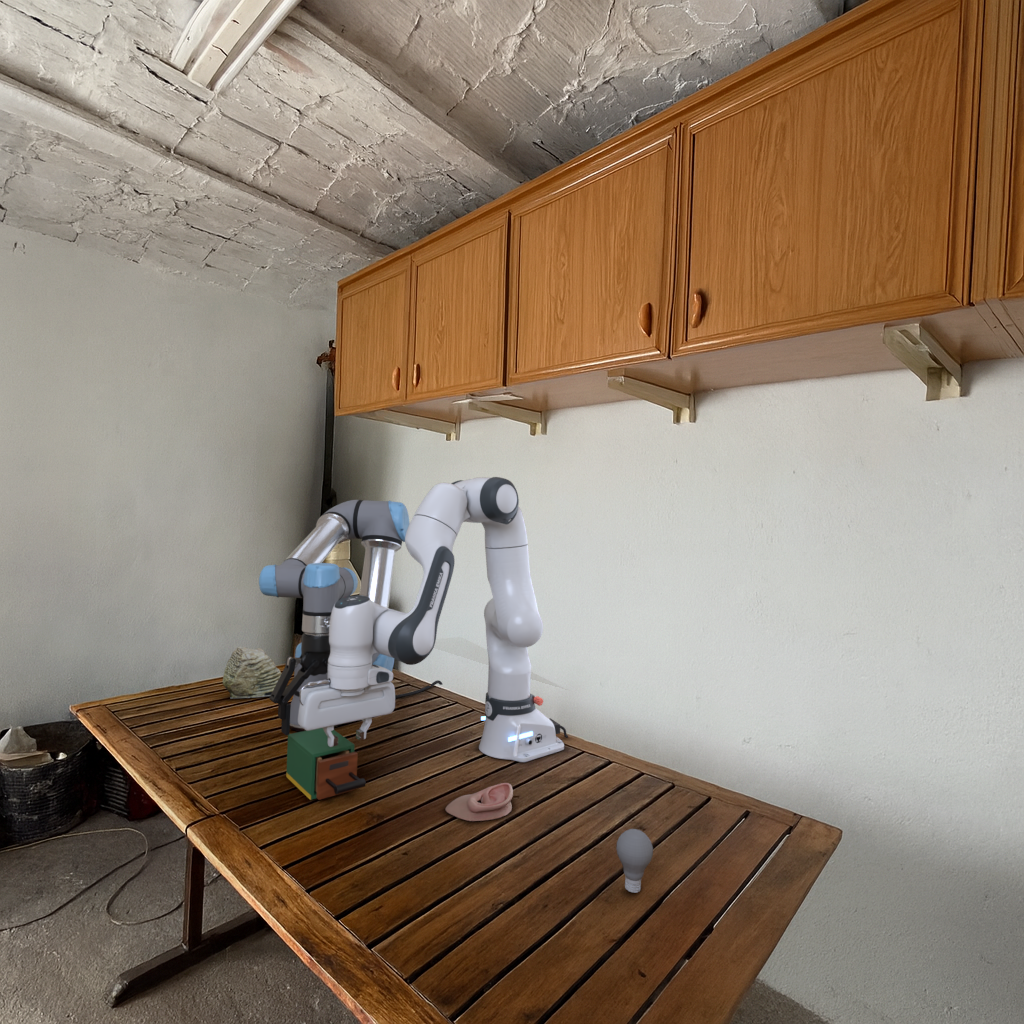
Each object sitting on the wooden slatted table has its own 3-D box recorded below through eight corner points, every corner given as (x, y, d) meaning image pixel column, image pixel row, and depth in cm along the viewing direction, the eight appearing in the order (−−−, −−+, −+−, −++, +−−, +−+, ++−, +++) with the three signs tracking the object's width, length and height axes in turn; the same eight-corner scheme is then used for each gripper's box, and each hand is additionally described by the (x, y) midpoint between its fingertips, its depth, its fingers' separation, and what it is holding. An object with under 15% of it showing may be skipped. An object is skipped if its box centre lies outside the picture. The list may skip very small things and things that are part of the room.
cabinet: (353, 788, 138) (354, 744, 138) (310, 800, 132) (312, 754, 132) (326, 766, 149) (328, 725, 148) (286, 776, 142) (287, 734, 142)
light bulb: (610, 879, 108) (613, 822, 108) (644, 879, 109) (647, 822, 109) (619, 902, 102) (622, 840, 102) (655, 901, 103) (658, 840, 103)
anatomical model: (441, 797, 127) (457, 773, 138) (440, 817, 127) (456, 791, 138) (505, 806, 124) (517, 781, 136) (504, 826, 124) (516, 800, 136)
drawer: (369, 800, 131) (371, 763, 131) (331, 812, 126) (332, 773, 126) (331, 769, 145) (332, 735, 145) (295, 778, 140) (296, 743, 140)
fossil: (218, 695, 195) (220, 647, 195) (278, 685, 208) (279, 640, 207) (228, 703, 189) (230, 653, 188) (289, 692, 201) (290, 645, 201)
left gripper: (269, 641, 131) (264, 743, 131) (377, 630, 147) (373, 721, 147) (256, 634, 137) (252, 733, 137) (362, 625, 153) (358, 712, 153)
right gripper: (306, 687, 121) (303, 759, 121) (400, 672, 134) (397, 736, 135) (294, 679, 126) (291, 748, 126) (385, 665, 139) (383, 727, 139)
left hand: (315, 727), depth 142 cm, fingers open, 13 cm apart
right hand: (347, 742), depth 131 cm, fingers open, 5 cm apart
